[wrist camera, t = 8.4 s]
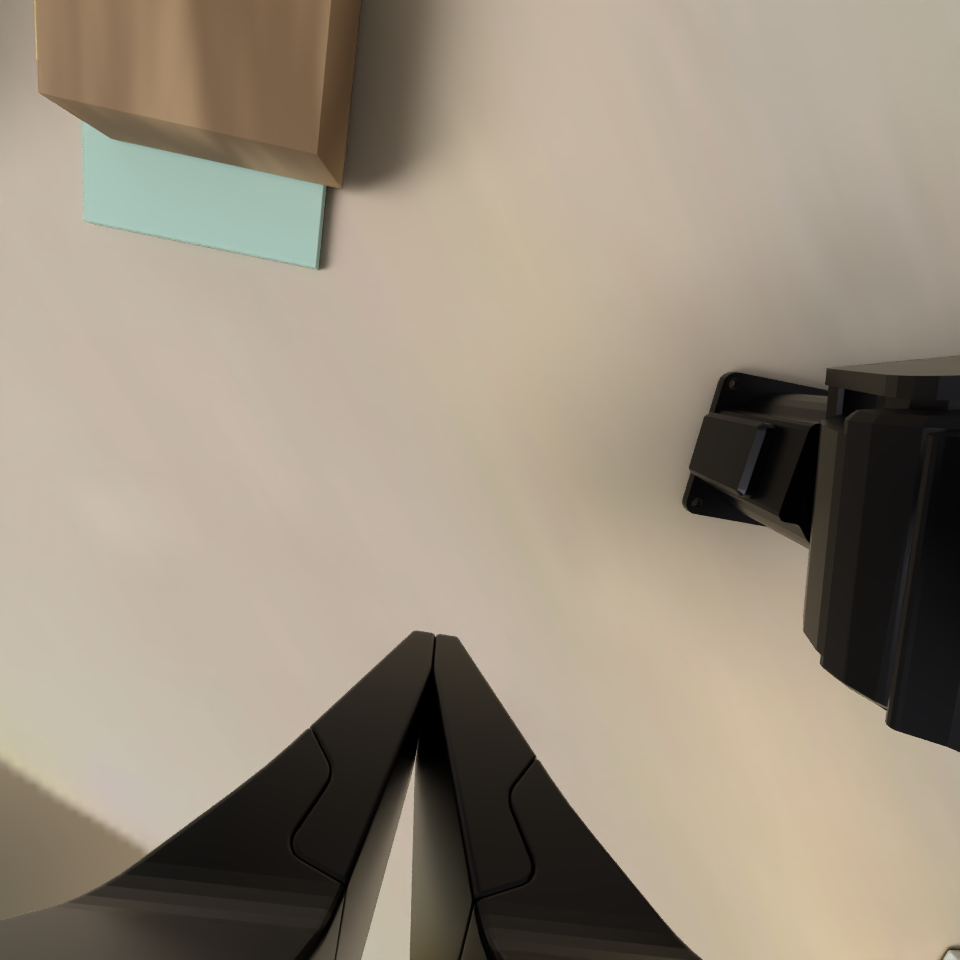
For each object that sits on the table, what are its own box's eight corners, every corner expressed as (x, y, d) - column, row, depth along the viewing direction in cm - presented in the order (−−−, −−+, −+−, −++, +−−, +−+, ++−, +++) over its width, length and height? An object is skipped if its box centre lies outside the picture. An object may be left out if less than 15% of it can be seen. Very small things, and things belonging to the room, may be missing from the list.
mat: (361, -165, 16) (358, -178, 15) (318, 269, 19) (315, 267, 19) (87, -239, 15) (76, -255, 15) (91, 223, 18) (83, 220, 18)
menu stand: (345, -162, 13) (15, -252, 12) (317, 154, 15) (28, 90, 14) (369, -62, 16) (105, -130, 15) (342, 190, 18) (106, 138, 17)
